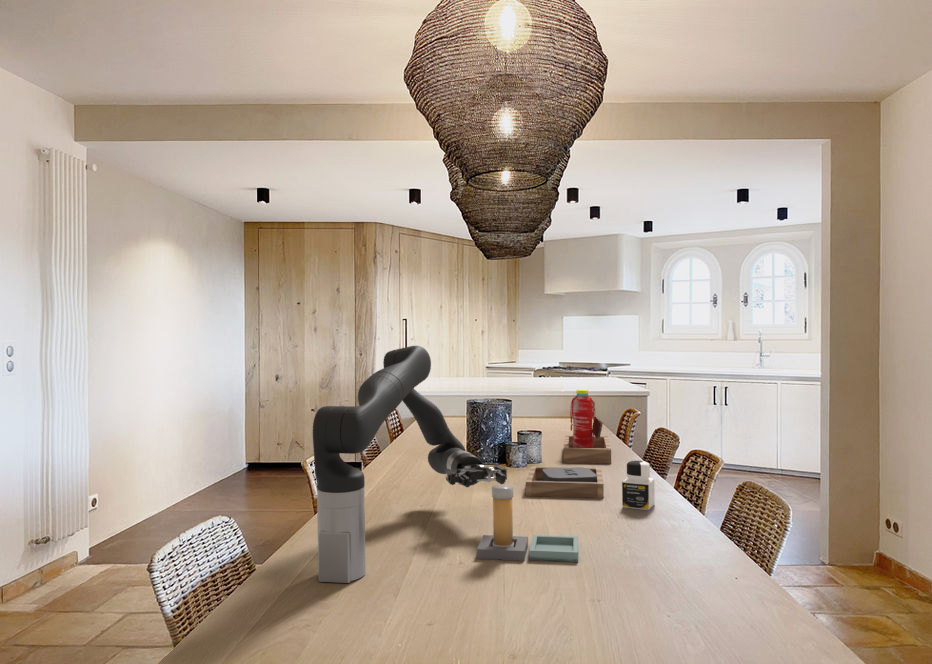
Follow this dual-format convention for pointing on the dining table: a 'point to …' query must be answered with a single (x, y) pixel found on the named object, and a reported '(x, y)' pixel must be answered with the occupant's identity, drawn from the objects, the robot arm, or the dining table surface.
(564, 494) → the square wooden tray
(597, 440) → the bottle rack
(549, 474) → the streaming box
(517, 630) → the dining table surface
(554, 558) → the parts tray
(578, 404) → the water bottle
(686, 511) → the dining table surface
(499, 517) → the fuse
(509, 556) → the frame
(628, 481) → the medicine bottle
